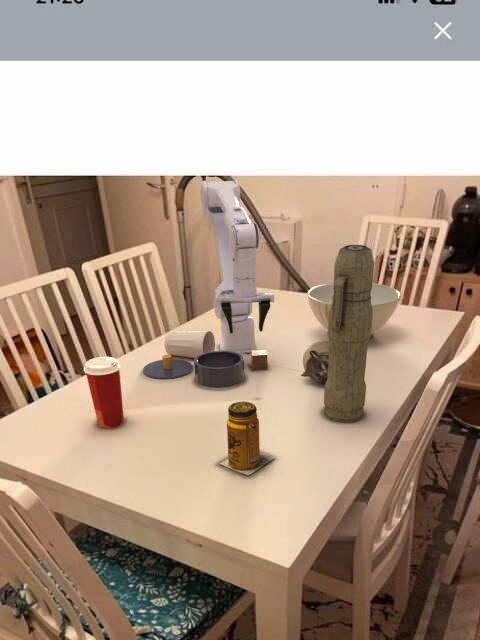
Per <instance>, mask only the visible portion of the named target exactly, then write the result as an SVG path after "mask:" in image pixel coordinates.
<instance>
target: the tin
mask: <svg viewBox="0 0 480 640" xmlns="http://www.w3.org/2000/svg"><path fill="white" fill-rule="evenodd" d="M193 369H194V381H195V382H196V383H197V385H200V386H202V387H206V388H213V389H223V388H229V387H234V386H236V385H239V384H241V383H242V382H243V381H244V379H245V358H244V356H243V355H242V354H240V353H239V352H230V351H221V350H215V351H212V352H207V353H203V354H200V355H198V356H197V357H196V358H195V359H194V358H193Z"/></svg>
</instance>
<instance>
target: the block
mask: <svg viewBox="0 0 480 640" xmlns="http://www.w3.org/2000/svg"><path fill="white" fill-rule="evenodd" d="M249 354H250V356H249V357H250V359H249V361H250V367H251V370H252V371H263V370H264V371H265V370H268V353H267V351H266V349H255V350H253V351H250V353H249Z"/></svg>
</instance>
